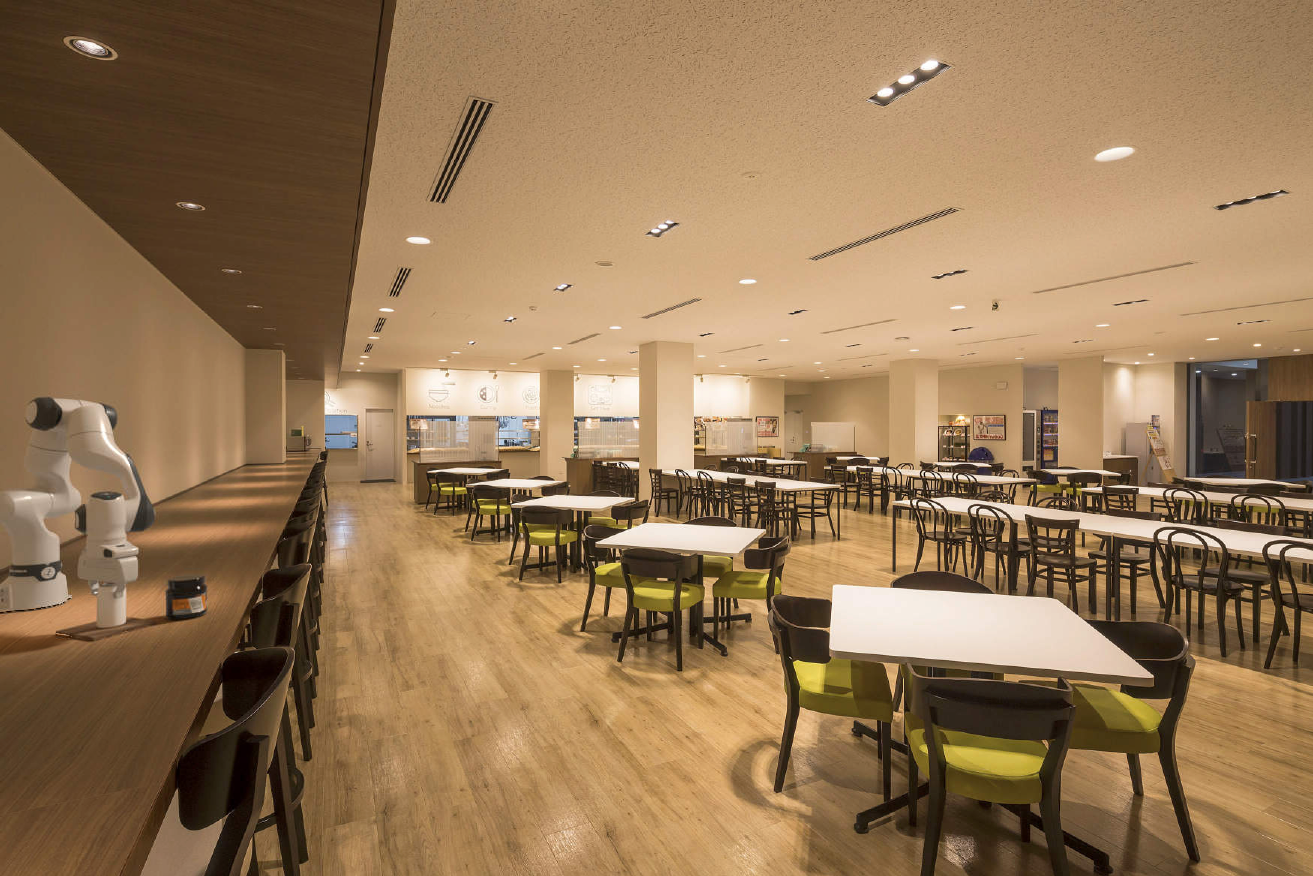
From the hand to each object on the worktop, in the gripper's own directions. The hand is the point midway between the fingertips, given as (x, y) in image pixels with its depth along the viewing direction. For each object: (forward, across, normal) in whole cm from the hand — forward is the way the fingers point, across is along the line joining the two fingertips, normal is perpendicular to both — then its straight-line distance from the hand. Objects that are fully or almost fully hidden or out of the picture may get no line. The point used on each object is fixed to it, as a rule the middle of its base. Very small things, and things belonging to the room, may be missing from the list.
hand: (107, 596), depth 184 cm
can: (+9, +1, +1) cm, 9 cm away
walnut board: (+10, 0, 0) cm, 10 cm away
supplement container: (+10, +8, +17) cm, 21 cm away
